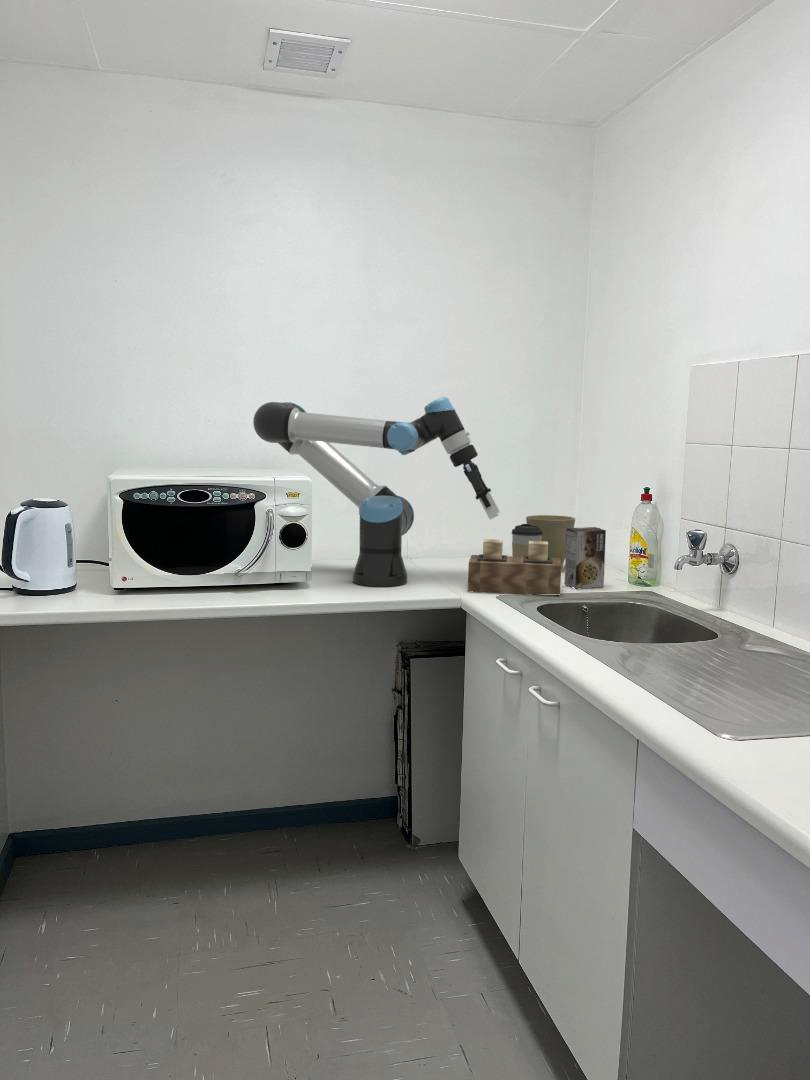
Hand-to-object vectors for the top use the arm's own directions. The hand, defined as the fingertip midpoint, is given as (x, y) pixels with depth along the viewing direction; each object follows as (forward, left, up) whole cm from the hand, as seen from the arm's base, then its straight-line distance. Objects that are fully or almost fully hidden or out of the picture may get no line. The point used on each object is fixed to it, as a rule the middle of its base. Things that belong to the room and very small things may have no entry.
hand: (495, 515), depth 234 cm
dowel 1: (0, -14, -12) cm, 18 cm away
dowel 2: (+12, -14, -12) cm, 22 cm away
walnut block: (+6, -14, -18) cm, 23 cm away
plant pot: (+16, +21, -18) cm, 33 cm away
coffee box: (+25, -5, -18) cm, 31 cm away
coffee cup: (+9, +7, -18) cm, 22 cm away
